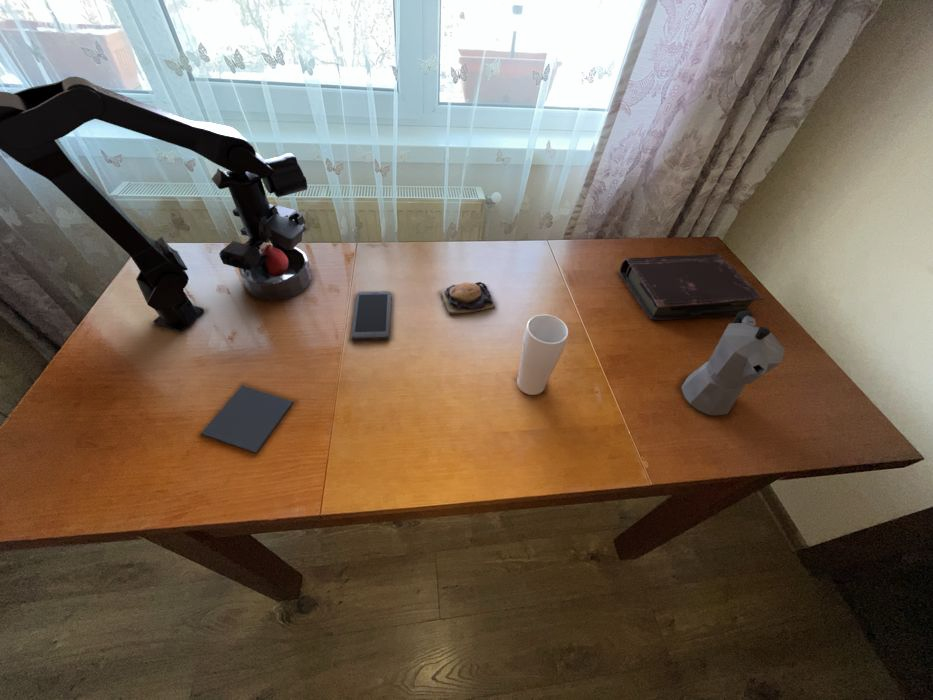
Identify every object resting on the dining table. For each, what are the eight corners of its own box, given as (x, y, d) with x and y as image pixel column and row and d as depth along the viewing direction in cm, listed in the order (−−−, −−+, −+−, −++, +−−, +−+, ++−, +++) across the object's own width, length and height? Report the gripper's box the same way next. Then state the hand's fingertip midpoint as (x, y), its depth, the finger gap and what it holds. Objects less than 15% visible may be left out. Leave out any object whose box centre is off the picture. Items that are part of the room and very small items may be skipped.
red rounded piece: (284, 286, 86) (273, 255, 80) (259, 281, 87) (246, 250, 81) (296, 270, 90) (287, 239, 84) (272, 265, 90) (261, 234, 84)
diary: (617, 271, 99) (624, 254, 95) (707, 267, 103) (718, 250, 99) (651, 324, 87) (661, 307, 83) (752, 317, 91) (766, 301, 87)
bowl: (233, 291, 86) (224, 274, 82) (271, 256, 94) (265, 239, 91) (289, 307, 84) (283, 290, 80) (323, 269, 92) (319, 253, 89)
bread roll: (449, 317, 85) (449, 304, 82) (439, 291, 90) (439, 278, 87) (496, 309, 87) (498, 296, 84) (484, 284, 92) (485, 272, 90)
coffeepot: (736, 432, 70) (809, 369, 57) (681, 417, 72) (739, 351, 58) (726, 368, 80) (786, 301, 67) (678, 355, 82) (726, 287, 68)
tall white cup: (551, 376, 76) (572, 320, 65) (544, 404, 72) (565, 349, 60) (517, 366, 77) (531, 309, 66) (508, 393, 73) (521, 336, 61)
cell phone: (351, 340, 78) (350, 338, 78) (357, 293, 88) (356, 291, 87) (389, 339, 79) (389, 336, 79) (391, 293, 88) (390, 290, 88)
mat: (201, 434, 64) (200, 433, 63) (243, 386, 70) (242, 385, 70) (256, 453, 62) (255, 452, 62) (293, 402, 69) (292, 401, 68)
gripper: (257, 238, 68) (283, 306, 80) (317, 189, 80) (331, 254, 92) (202, 224, 70) (235, 292, 81) (268, 178, 82) (288, 243, 93)
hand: (276, 270), depth 87 cm, fingers closed on red rounded piece, 6 cm apart
